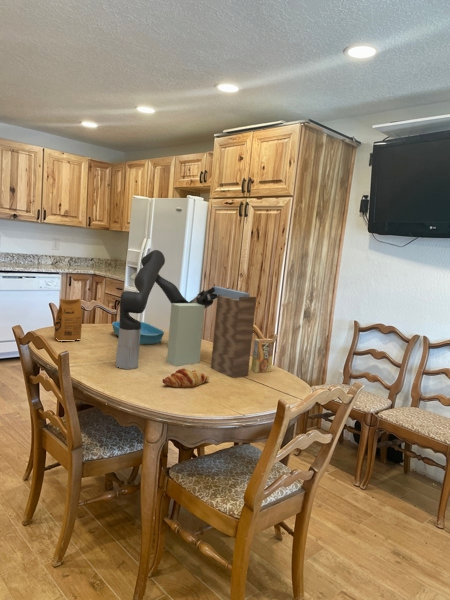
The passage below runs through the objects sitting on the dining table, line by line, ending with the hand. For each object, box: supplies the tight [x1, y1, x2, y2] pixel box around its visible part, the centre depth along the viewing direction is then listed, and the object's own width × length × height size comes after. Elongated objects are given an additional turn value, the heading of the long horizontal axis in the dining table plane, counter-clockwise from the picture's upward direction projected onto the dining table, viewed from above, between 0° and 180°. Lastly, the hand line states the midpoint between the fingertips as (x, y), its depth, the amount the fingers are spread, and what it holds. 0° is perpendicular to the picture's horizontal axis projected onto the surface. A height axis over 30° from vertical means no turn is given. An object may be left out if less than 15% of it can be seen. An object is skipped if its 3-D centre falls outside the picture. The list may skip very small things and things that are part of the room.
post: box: [210, 295, 257, 379], centre depth 192 cm, size 16×9×36 cm, turn 39°
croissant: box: [162, 368, 210, 389], centre depth 171 cm, size 21×10×8 cm, turn 124°
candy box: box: [250, 338, 275, 374], centre depth 199 cm, size 9×4×15 cm, turn 119°
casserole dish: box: [111, 320, 165, 345], centre depth 241 cm, size 37×22×7 cm, turn 37°
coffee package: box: [53, 298, 83, 340], centre depth 221 cm, size 10×12×22 cm
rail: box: [211, 285, 250, 300], centre depth 194 cm, size 23×3×3 cm, turn 39°
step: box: [166, 302, 205, 367], centre depth 200 cm, size 7×14×28 cm, turn 129°
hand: (221, 289), depth 199 cm, fingers open, 8 cm apart
